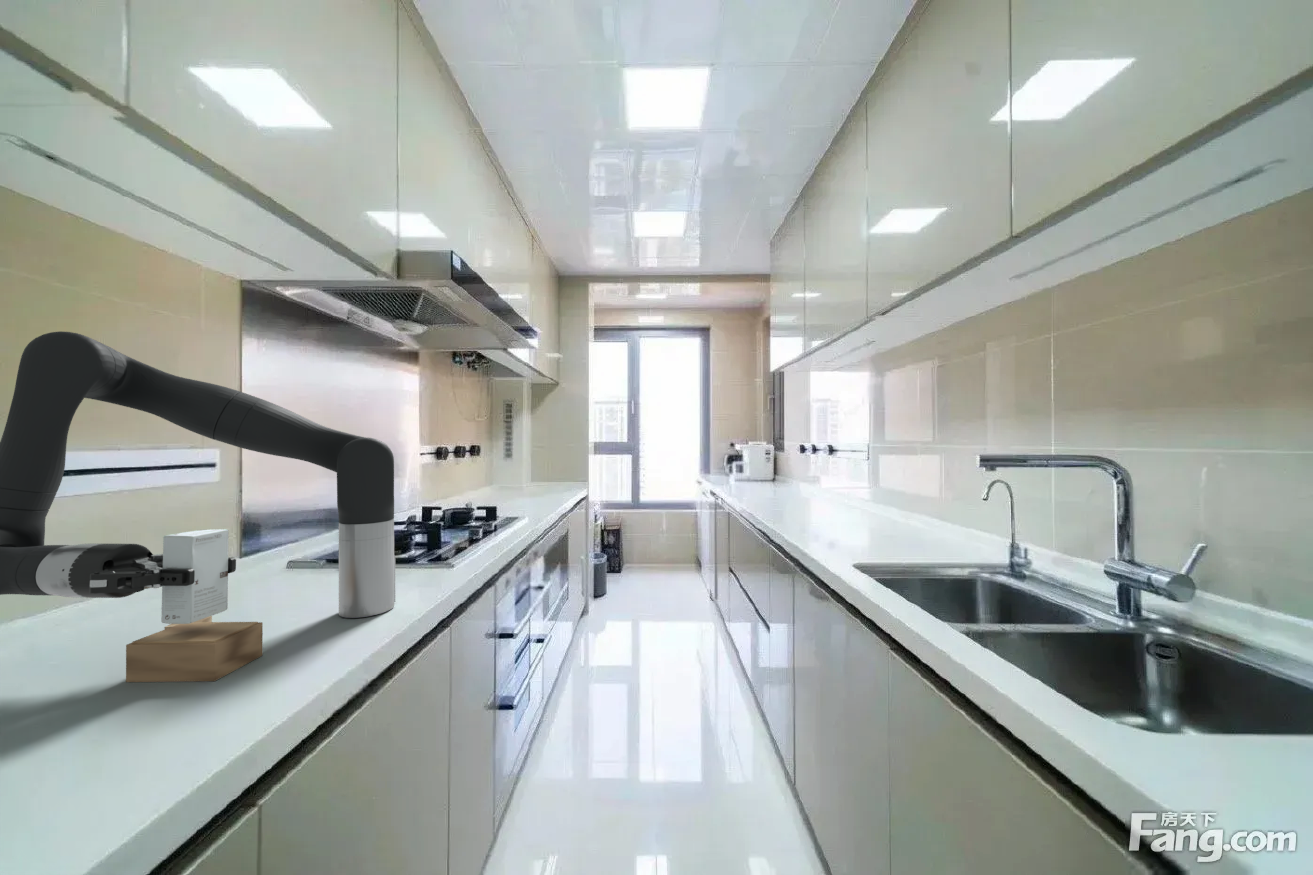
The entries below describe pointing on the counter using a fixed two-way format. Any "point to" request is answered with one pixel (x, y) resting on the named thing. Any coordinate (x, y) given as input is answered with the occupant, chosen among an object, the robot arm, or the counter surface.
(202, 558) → the skincare box
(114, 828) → the counter surface
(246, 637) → the block
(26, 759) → the counter surface
